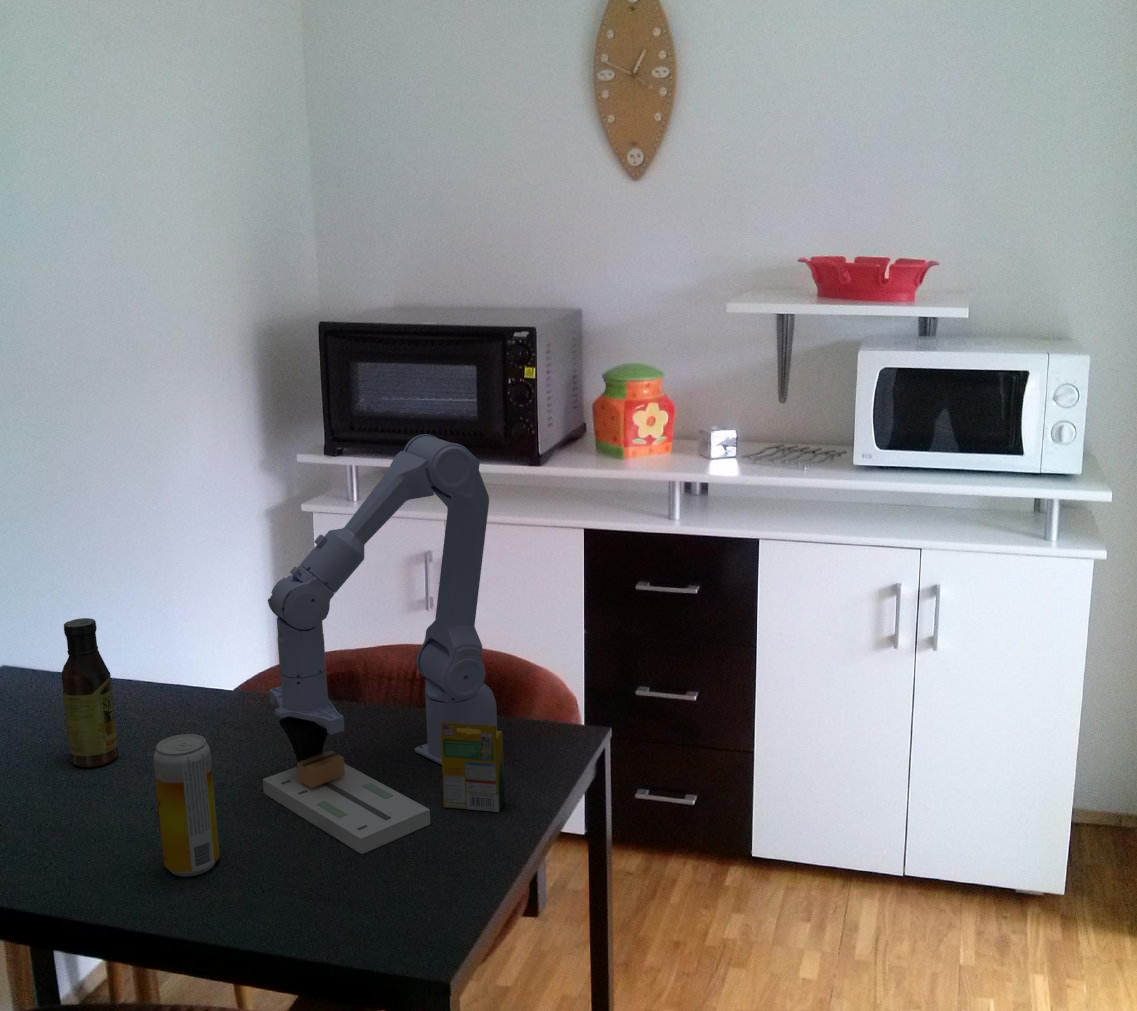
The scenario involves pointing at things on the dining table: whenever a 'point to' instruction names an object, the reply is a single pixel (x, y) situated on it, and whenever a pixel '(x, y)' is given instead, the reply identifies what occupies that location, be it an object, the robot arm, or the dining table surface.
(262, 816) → the dining table surface
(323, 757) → the fader knob
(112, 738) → the sauce bottle
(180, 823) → the beer can
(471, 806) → the crayon box
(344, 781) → the fader console
